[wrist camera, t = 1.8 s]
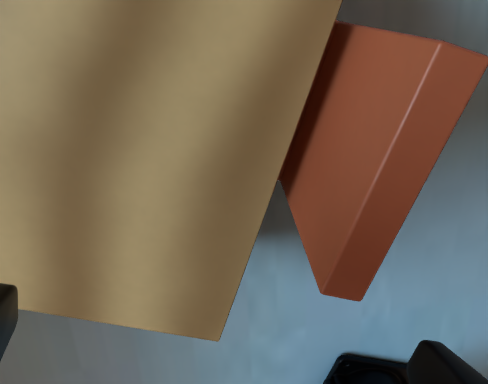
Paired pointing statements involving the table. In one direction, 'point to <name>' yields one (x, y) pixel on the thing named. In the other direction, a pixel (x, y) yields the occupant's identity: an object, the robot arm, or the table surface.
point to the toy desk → (146, 150)
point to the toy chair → (370, 145)
